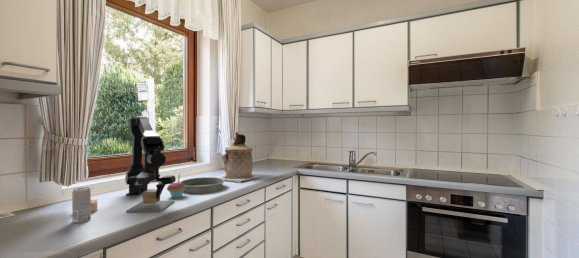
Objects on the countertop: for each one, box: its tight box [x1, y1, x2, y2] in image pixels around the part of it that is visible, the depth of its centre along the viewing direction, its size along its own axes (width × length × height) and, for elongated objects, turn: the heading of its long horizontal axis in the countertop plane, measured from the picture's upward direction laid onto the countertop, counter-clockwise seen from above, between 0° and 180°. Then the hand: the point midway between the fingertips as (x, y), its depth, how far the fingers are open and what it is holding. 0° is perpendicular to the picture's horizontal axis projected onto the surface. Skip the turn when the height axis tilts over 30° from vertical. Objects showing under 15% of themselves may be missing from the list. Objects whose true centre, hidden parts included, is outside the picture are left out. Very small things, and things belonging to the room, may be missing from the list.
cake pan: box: [180, 176, 225, 194], centre depth 148 cm, size 25×25×4 cm
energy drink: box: [71, 186, 92, 224], centre depth 97 cm, size 5×5×12 cm
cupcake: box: [166, 173, 186, 199], centre depth 131 cm, size 9×8×12 cm
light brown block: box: [91, 199, 98, 214], centre depth 108 cm, size 7×7×4 cm
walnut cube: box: [142, 188, 161, 204], centre depth 114 cm, size 5×5×5 cm
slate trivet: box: [125, 200, 175, 213], centre depth 114 cm, size 14×14×1 cm
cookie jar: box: [213, 131, 263, 184], centre depth 179 cm, size 25×25×32 cm
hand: (151, 199), depth 114 cm, fingers closed on walnut cube, 5 cm apart
